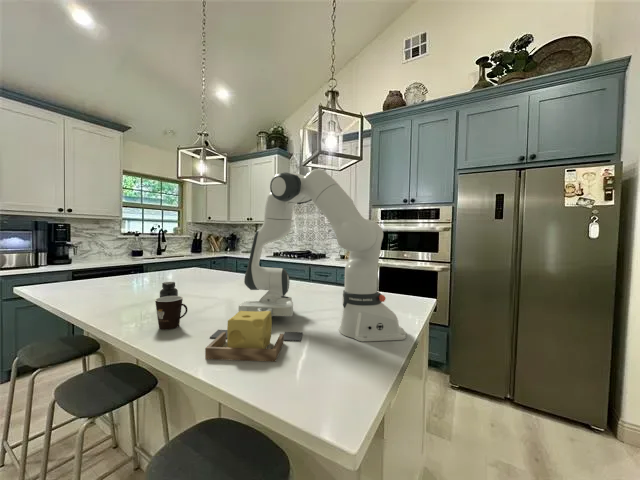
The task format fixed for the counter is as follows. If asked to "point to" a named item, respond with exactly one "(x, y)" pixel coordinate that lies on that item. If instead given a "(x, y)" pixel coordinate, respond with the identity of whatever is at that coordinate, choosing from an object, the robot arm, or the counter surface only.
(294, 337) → the pads
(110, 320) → the counter surface
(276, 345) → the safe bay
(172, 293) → the supplement bottle
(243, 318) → the cheese
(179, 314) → the coffee mug
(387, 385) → the counter surface
